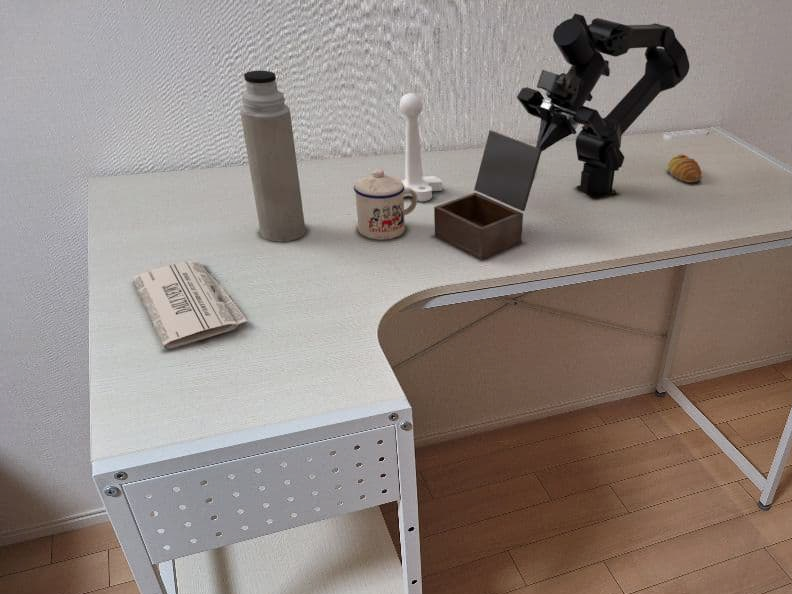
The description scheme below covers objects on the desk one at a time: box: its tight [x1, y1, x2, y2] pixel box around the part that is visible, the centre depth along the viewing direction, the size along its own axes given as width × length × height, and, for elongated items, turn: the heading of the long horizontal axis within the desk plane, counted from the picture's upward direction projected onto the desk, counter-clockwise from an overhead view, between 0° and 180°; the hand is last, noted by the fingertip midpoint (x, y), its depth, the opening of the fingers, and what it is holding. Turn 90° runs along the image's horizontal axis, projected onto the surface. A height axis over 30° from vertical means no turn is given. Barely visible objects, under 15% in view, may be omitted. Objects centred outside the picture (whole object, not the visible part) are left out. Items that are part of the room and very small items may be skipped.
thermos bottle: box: [239, 70, 306, 242], centre depth 134 cm, size 8×8×28 cm
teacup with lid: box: [353, 168, 418, 241], centre depth 142 cm, size 12×9×12 cm
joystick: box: [399, 92, 443, 203], centre depth 153 cm, size 11×8×20 cm
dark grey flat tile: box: [473, 129, 543, 212], centre depth 142 cm, size 11×13×1 cm
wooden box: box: [433, 192, 524, 261], centre depth 143 cm, size 11×13×6 cm
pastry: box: [667, 154, 702, 183], centre depth 177 cm, size 9×7×4 cm
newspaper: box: [132, 259, 248, 350], centre depth 120 cm, size 23×12×2 cm, turn 33°
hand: (538, 150), depth 146 cm, fingers closed
